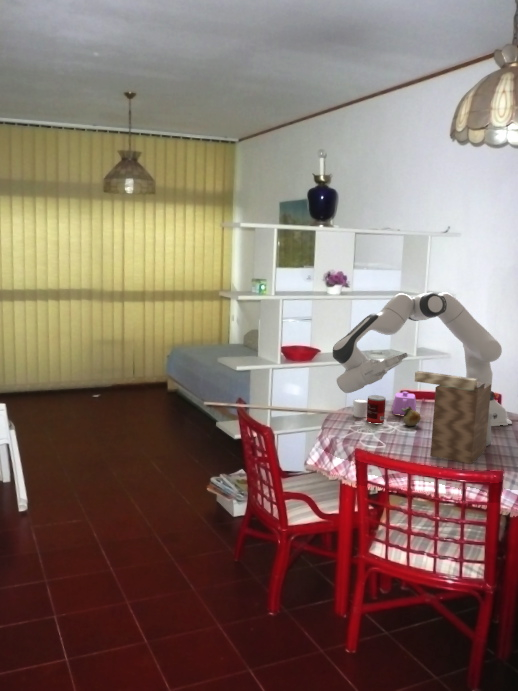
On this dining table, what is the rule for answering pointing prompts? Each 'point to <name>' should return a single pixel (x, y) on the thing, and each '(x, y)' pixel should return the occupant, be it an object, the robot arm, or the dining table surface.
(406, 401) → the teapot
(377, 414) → the canned food
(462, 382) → the birch rod
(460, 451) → the walnut shelf
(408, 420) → the onion
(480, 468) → the dining table surface
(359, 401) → the white cylinder
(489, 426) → the salt shaker
